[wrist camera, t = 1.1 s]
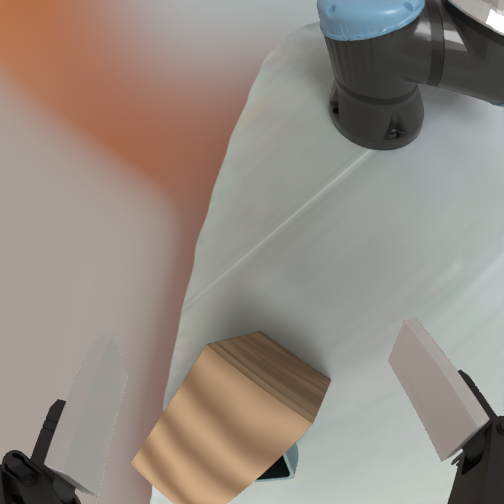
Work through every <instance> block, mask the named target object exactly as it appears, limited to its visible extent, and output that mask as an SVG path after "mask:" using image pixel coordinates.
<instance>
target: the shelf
mask: <svg viewBox="0 0 504 504" xmlns="http://www.w3.org/2000/svg"><path fill="white" fill-rule="evenodd" d="M330 381H331V380H330V379H328V378H327V377H325V376H324V375H322V374H321V373H319V372H318V371H316V370H315V369H313V368H312V367H310V366H309V365H308V364H306V363H305V362H303V361H302V360H300V359H299V358H297V357H296V356H294V355H293V354H292V353H290V352H289V351H287V350H286V349H284V348H283V347H282V346H280V345H279V344H277V343H276V342H275V341H273V340H272V339H270V338H269V337H268V336H266V335H265V334H263V333H262V332H261V331H259V332H255V333H251V334H247V335H243V336H239V337H235V338H231V339H227V340H223V341H219V342H215V343H211V344H207V345H206V346H205V348H204V349H203V351H202V353H201V354H200V356H199V357H198V359H197V361H196V362H195V364H194V365H193V367H192V369H191V370H190V372H189V373H188V375H187V377H186V378H185V380H184V381H183V383H182V384H181V386H180V388H179V389H178V391H177V392H176V394H175V396H174V397H173V399H172V400H171V402H170V403H169V405H168V407H167V408H166V410H165V411H164V413H163V414H162V416H161V418H160V419H159V421H158V422H157V424H156V425H155V427H154V429H153V430H152V432H151V433H150V435H149V436H148V438H147V439H146V441H145V442H144V444H143V446H142V447H141V449H140V450H139V452H138V453H137V455H136V456H135V458H134V460H133V461H132V463H131V464H132V465H133V466H134V467H135V468H136V469H137V470H138V471H139V472H140V473H141V474H142V475H143V476H144V477H145V478H146V479H147V480H148V481H149V482H150V483H151V484H152V485H153V486H154V487H155V488H156V489H157V490H159V491H160V492H161V493H162V494H163V495H164V496H165V497H166V498H168V499H169V500H170V501H171V502H172V503H174V504H227V503H228V502H229V501H231V500H232V499H233V498H235V497H236V496H237V495H238V494H240V493H241V492H242V491H243V490H244V489H246V488H247V487H248V486H249V485H250V484H252V483H253V482H254V481H255V480H256V479H257V478H258V477H260V476H261V475H262V474H263V473H264V472H265V471H266V470H267V469H268V468H270V467H271V466H272V465H273V464H274V463H275V462H276V461H277V460H278V459H279V458H280V457H281V456H282V455H283V454H284V453H285V452H286V451H287V450H288V449H289V448H290V447H291V446H292V445H293V444H294V443H295V442H296V441H297V440H298V439H299V438H300V437H301V436H302V435H303V434H304V433H305V431H306V430H307V429H308V428H309V427H310V426H311V425H312V424H313V422H314V420H315V417H316V415H317V413H318V410H319V408H320V406H321V403H322V401H323V399H324V396H325V394H326V391H327V389H328V386H329V384H330Z"/></svg>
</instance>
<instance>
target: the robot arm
mask: <svg viewBox="0 0 504 504" xmlns="http://www.w3.org/2000/svg"><path fill="white" fill-rule="evenodd" d="M317 9H318V13H319V18H320V28H321V30H322V33H323V34H324V37H325V41H326V44H327V48H328V52H329V55H330V59H331V63H332V67H333V71H334V76H335V79H334V82H333V86H332V90H331V94H330V98H329V106H330V111H331V115H332V119H333V121H334V124H335V125H336V127H337V128H338V130H339V131H340V132H341V133H342V134H343V135H344V136H345V137H346V138H348V139H349V140H351V141H352V142H354V143H356V144H358V145H360V146H363V147H366V148H369V149H374V150H393V149H398V148H401V147H403V146H406V145H407V144H409V143H411V142H412V141H413V140H414V139H415V138H416V137H417V136H418V134H419V132H420V130H421V127H422V123H423V119H424V107H423V103H422V99H421V95H420V92H419V89H418V86H417V84H418V83H421V84H427V85H431V86H435V87H440V88H444V89H448V90H451V91H455V92H458V93H462V94H465V95H468V96H472V97H475V98H478V99H481V100H484V101H487V102H489V103H491V104H493V105H496V106H499V107H504V0H317ZM388 362H389V363H390V365H391V367H392V369H393V370H394V372H395V374H396V376H397V377H398V379H399V381H400V383H401V384H402V386H403V388H404V390H405V392H406V393H407V395H408V397H409V399H410V401H411V403H412V404H413V406H414V408H415V410H416V412H417V414H418V416H419V418H420V419H421V421H422V423H423V425H424V427H425V429H426V431H427V433H428V435H429V437H430V439H431V441H432V443H433V445H434V447H435V449H436V451H437V453H438V455H439V457H440V460H441V462H442V461H443V460H445V459H447V458H449V457H451V456H453V455H454V454H455V453H457V452H458V451H459V450H460V449H461V448H462V449H463V452H461V453H460V454H459V455H458V456H457V457H456V458H455V459H454V460H453V461H452V463H451V465H453V464H455V463H456V462H457V461H458V460H459V462H458V463H457V464H456V466H458V468H457V472H456V476H455V480H454V483H453V487H452V490H451V494H450V497H449V500H448V503H447V504H504V416H497V415H496V414H495V413H494V411H493V410H492V408H491V407H490V405H489V404H488V402H487V401H486V399H485V398H484V396H483V395H482V394H481V392H479V389H478V388H477V386H475V383H474V382H473V381H472V379H471V378H470V377H469V376H468V375H467V374H466V373H464V372H463V371H462V370H459V371H457V370H456V369H455V367H454V366H453V364H452V363H451V362H450V360H449V359H448V358H447V356H446V355H445V354H444V352H443V351H442V350H441V348H440V347H439V346H438V345H437V343H436V342H435V341H434V339H433V338H432V337H431V336H430V334H429V333H428V332H427V331H426V329H425V328H424V327H423V326H422V324H421V323H420V322H419V321H418V319H417V318H412V319H406V320H404V321H403V324H402V327H401V330H400V332H399V335H398V337H397V340H396V343H395V345H394V348H393V350H392V352H391V355H390V357H389V359H388ZM128 378H129V376H128V374H127V371H126V369H125V367H124V364H123V361H122V359H121V356H120V354H119V351H118V349H117V346H116V343H115V341H114V338H113V335H106V334H97V336H96V338H95V340H94V342H93V344H92V346H91V348H90V350H89V352H88V354H87V356H86V359H85V361H84V363H83V365H82V367H81V369H80V371H79V374H78V376H77V378H76V380H75V383H74V385H73V387H72V389H71V392H70V394H69V397H68V399H67V401H63V400H59V399H58V400H57V401H56V402H55V403H54V404H53V405H52V406H51V407H50V409H49V412H48V414H47V416H46V420H45V421H44V424H43V428H42V429H41V431H40V434H39V437H38V439H37V442H36V445H35V448H34V451H33V454H32V456H31V458H30V459H29V458H28V457H27V456H26V455H24V454H23V453H22V452H21V451H18V450H12V451H9V452H8V453H6V455H5V456H4V458H3V461H2V465H1V464H0V504H81V502H80V500H79V499H78V497H77V495H76V494H75V488H77V489H78V490H80V491H81V492H83V493H86V494H89V495H92V496H96V497H100V494H101V488H102V483H103V478H104V473H105V468H106V463H107V458H108V454H109V450H110V445H111V441H112V437H113V432H114V428H115V425H116V420H117V417H118V413H119V409H120V406H121V402H122V399H123V395H124V392H125V388H126V385H127V381H128Z"/></svg>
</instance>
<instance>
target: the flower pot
mask: <svg viewBox="0 0 504 504" xmlns="http://www.w3.org/2000/svg"><path fill="white" fill-rule="evenodd" d="M297 462H298V448H297V445H296V442H295V443H294V444H293V445H292V446H291V447H290V448H289V449H288V450H287V451H286V452H285V453H284V454H283V455H282V456H281V457H280V458H279V459H278V460H277V461H276V462H275V463H274V464H273V465H272V466H271V467H270V468H268V469H267V470H266V471H265V472H264V473H263V474H262V475H261V476H260V477H258V478H257V479H256V480H255V481H254V482H261V481H274V480H286V479H291V478H294V475H295V471H296V466H297Z"/></svg>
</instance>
